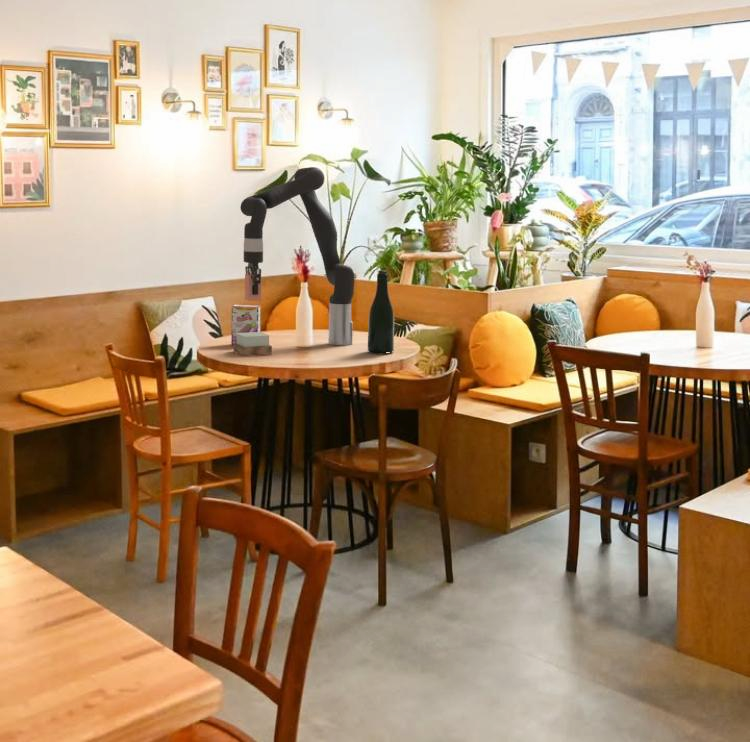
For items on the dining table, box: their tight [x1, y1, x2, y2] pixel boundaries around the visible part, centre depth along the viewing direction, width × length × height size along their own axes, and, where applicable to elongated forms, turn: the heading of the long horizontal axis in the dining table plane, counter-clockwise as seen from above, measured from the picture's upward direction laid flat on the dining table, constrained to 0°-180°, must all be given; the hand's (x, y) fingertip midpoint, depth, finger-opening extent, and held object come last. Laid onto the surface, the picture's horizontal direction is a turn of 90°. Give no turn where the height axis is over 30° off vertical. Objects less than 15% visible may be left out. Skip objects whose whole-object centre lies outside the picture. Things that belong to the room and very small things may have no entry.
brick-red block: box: [244, 273, 262, 302], centre depth 418 cm, size 5×5×10 cm
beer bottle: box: [367, 269, 395, 354], centre depth 429 cm, size 10×10×33 cm
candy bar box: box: [230, 304, 261, 346], centre depth 441 cm, size 11×5×16 cm, turn 84°
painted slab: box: [236, 331, 270, 347], centre depth 421 cm, size 10×10×4 cm
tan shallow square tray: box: [233, 343, 273, 357], centre depth 422 cm, size 12×12×4 cm
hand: (253, 293), depth 419 cm, fingers closed on brick-red block, 5 cm apart
